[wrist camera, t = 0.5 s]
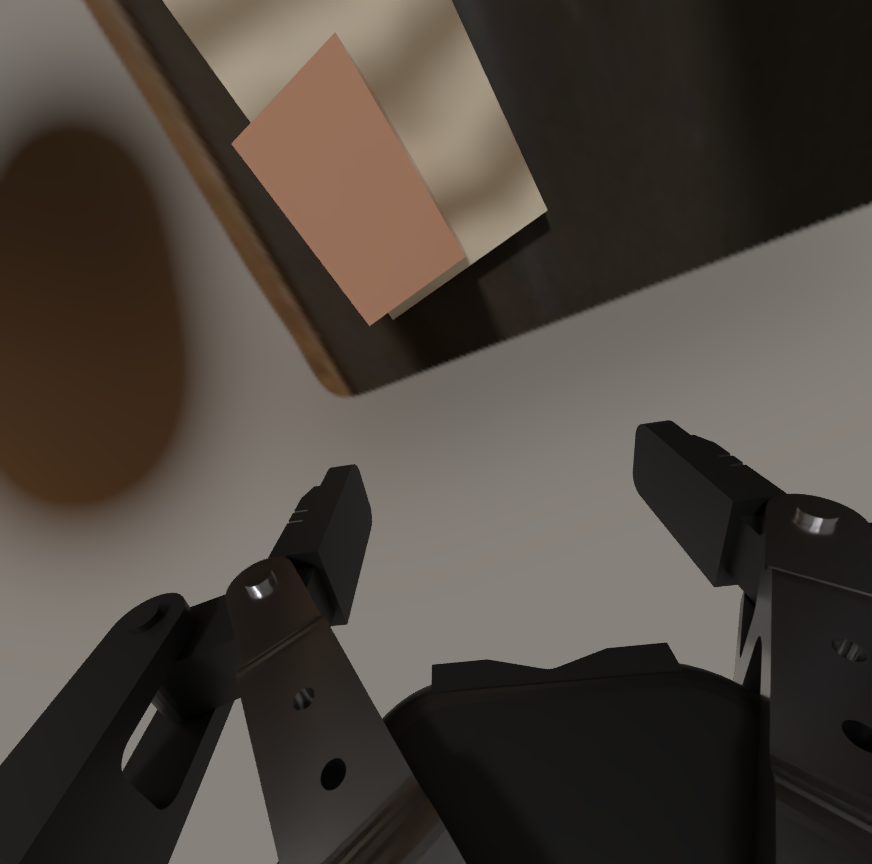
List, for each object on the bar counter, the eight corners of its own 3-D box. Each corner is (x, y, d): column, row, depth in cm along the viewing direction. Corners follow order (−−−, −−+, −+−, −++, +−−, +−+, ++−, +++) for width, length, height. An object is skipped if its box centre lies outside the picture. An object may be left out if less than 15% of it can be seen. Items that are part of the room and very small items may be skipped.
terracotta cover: (294, 162, 24) (231, 143, 17) (371, 87, 22) (335, 32, 15) (389, 297, 28) (369, 326, 21) (461, 244, 26) (465, 256, 19)
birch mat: (122, -63, 20) (108, -75, 19) (295, -331, 16) (286, -361, 15) (394, 316, 30) (393, 319, 29) (544, 210, 26) (547, 210, 25)
